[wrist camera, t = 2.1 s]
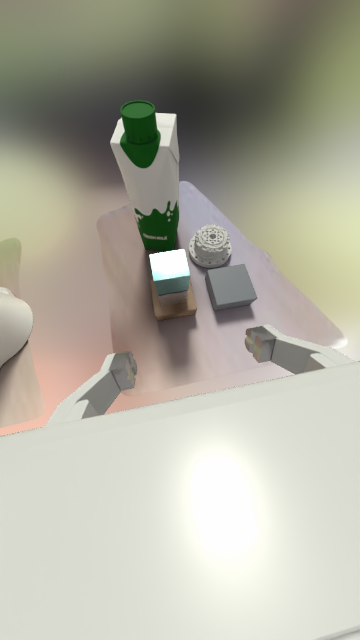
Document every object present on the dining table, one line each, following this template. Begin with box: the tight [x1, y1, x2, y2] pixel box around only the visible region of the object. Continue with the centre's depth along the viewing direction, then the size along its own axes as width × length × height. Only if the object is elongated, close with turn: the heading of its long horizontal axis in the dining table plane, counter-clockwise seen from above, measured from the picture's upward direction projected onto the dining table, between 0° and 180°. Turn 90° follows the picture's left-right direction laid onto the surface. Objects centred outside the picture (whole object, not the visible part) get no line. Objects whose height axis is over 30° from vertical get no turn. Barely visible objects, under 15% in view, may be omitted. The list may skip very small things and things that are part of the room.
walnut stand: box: [150, 279, 197, 321], centre depth 30 cm, size 8×8×3 cm
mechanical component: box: [189, 224, 231, 268], centre depth 33 cm, size 10×4×10 cm
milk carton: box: [110, 100, 179, 251], centre depth 27 cm, size 9×9×20 cm
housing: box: [150, 249, 190, 306], centre depth 24 cm, size 5×4×9 cm
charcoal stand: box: [205, 264, 257, 311], centre depth 31 cm, size 8×8×3 cm
